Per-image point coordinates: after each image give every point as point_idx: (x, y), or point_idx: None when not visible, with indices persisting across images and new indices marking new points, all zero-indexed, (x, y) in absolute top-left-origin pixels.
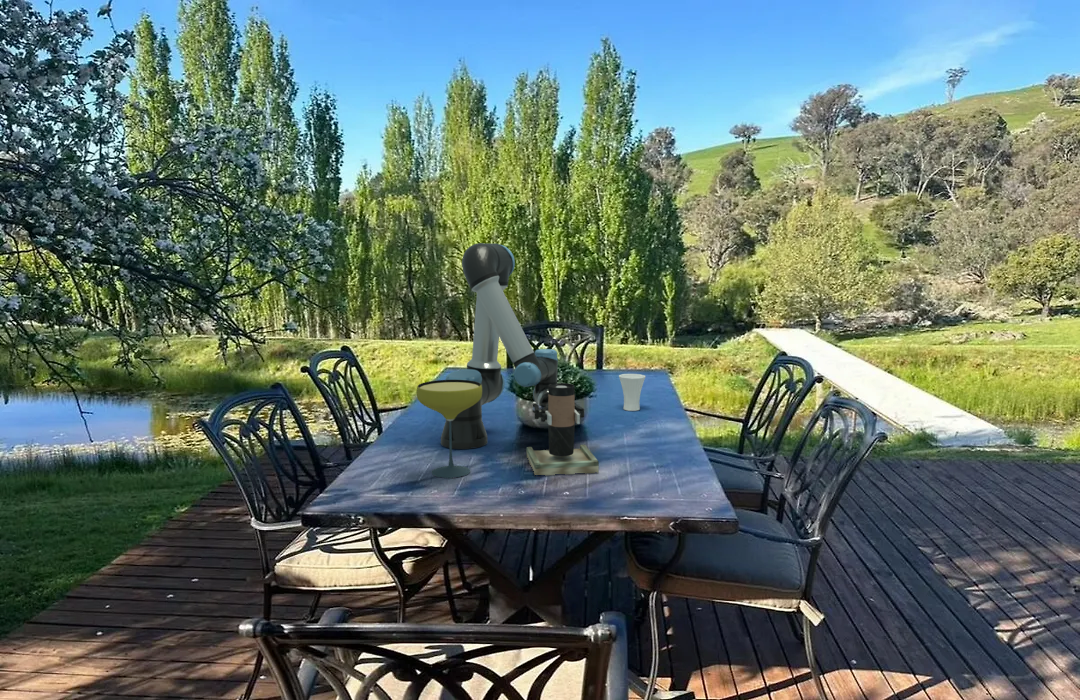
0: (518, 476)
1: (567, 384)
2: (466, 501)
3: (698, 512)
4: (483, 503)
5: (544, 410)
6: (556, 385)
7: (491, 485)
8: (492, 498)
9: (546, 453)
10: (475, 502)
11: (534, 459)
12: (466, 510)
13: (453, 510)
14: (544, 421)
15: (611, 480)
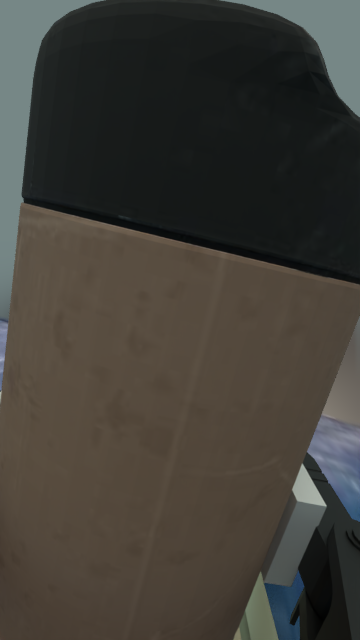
0: (299, 578)
1: (81, 42)
2: (354, 451)
3: (3, 329)
4: (318, 435)
5: (352, 551)
6: (324, 113)
7: (351, 517)
8: (311, 448)
9: None
10: (334, 443)
11: (263, 615)
12: (332, 424)
13: (353, 429)
14: (295, 608)
15: None
